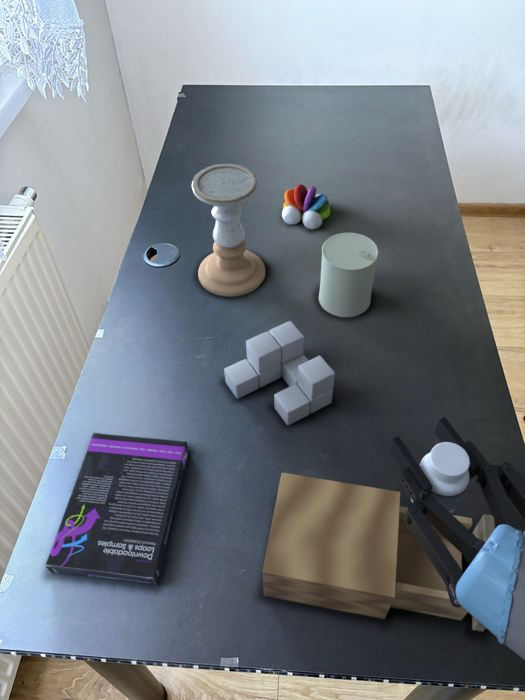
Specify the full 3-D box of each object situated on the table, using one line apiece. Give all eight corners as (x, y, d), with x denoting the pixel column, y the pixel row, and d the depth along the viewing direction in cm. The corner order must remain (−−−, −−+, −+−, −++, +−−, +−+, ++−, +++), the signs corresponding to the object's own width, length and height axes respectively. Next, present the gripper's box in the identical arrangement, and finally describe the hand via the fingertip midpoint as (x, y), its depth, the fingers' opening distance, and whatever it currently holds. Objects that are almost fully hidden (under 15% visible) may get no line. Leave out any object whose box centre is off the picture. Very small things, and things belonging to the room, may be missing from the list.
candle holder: (279, 277, 109) (279, 183, 94) (225, 309, 104) (215, 215, 89) (238, 244, 115) (232, 150, 100) (185, 272, 111) (170, 178, 95)
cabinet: (390, 521, 79) (400, 491, 72) (384, 620, 71) (395, 597, 64) (281, 502, 81) (281, 472, 74) (263, 597, 73) (262, 572, 66)
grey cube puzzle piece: (225, 383, 94) (221, 351, 88) (289, 352, 98) (290, 320, 92) (264, 439, 87) (263, 409, 81) (331, 404, 91) (335, 372, 85)
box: (98, 443, 88) (50, 575, 75) (92, 430, 85) (41, 564, 73) (191, 453, 86) (157, 589, 74) (188, 440, 84) (152, 579, 71)
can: (357, 326, 101) (365, 274, 92) (309, 308, 104) (311, 255, 95) (378, 293, 106) (388, 240, 97) (331, 276, 109) (336, 223, 100)
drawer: (517, 544, 76) (535, 522, 70) (525, 640, 68) (545, 623, 63) (373, 519, 78) (379, 496, 73) (365, 609, 71) (372, 590, 66)
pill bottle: (462, 518, 66) (483, 480, 59) (415, 521, 66) (431, 484, 59) (449, 475, 69) (468, 435, 63) (405, 478, 69) (419, 438, 63)
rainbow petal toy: (291, 200, 124) (291, 169, 118) (335, 210, 121) (338, 180, 116) (276, 224, 119) (276, 193, 113) (322, 235, 116) (324, 205, 111)
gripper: (466, 696, 53) (341, 480, 67) (624, 609, 58) (476, 423, 71) (489, 678, 47) (347, 446, 61) (662, 583, 52) (493, 386, 66)
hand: (417, 434), depth 66 cm, fingers closed on pill bottle, 5 cm apart
